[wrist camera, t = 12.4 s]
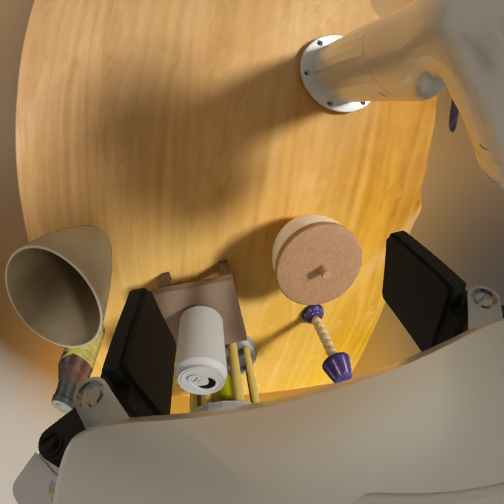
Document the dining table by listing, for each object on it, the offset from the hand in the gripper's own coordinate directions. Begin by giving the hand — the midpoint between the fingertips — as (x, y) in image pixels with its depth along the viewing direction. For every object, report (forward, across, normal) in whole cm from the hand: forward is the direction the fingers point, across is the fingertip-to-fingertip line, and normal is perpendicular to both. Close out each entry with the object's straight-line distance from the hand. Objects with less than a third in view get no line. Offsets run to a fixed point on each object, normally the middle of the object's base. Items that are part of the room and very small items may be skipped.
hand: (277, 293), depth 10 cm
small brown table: (+31, +10, +20) cm, 38 cm away
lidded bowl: (+32, -8, +15) cm, 36 cm away
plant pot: (+31, +26, +7) cm, 41 cm away
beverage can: (+24, +10, +20) cm, 33 cm away
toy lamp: (+31, -9, +31) cm, 45 cm away
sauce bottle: (+30, +34, +23) cm, 51 cm away
